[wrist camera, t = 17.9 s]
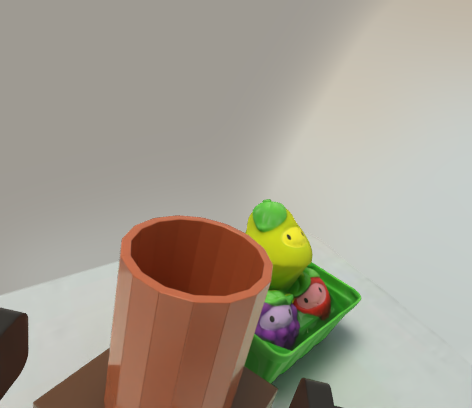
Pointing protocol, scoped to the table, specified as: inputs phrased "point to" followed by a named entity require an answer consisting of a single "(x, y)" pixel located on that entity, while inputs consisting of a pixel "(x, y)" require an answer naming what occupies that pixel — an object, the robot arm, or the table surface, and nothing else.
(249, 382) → the block
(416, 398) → the table surface
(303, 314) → the fruit basket
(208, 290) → the cup
